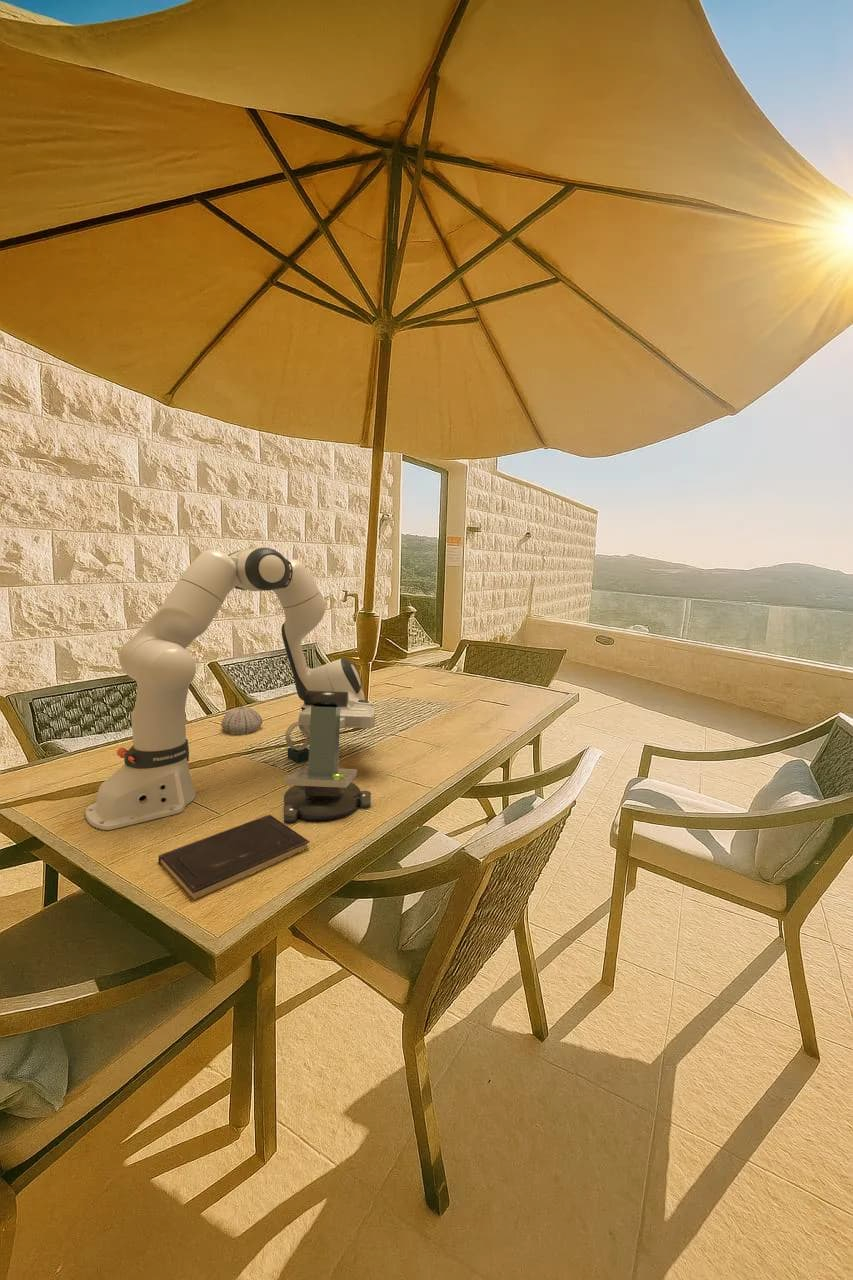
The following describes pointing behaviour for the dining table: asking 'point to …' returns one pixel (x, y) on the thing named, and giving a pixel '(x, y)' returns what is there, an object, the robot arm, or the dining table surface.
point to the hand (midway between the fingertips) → (331, 726)
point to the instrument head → (323, 743)
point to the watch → (300, 751)
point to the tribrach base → (323, 803)
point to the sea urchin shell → (241, 720)
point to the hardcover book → (231, 854)
